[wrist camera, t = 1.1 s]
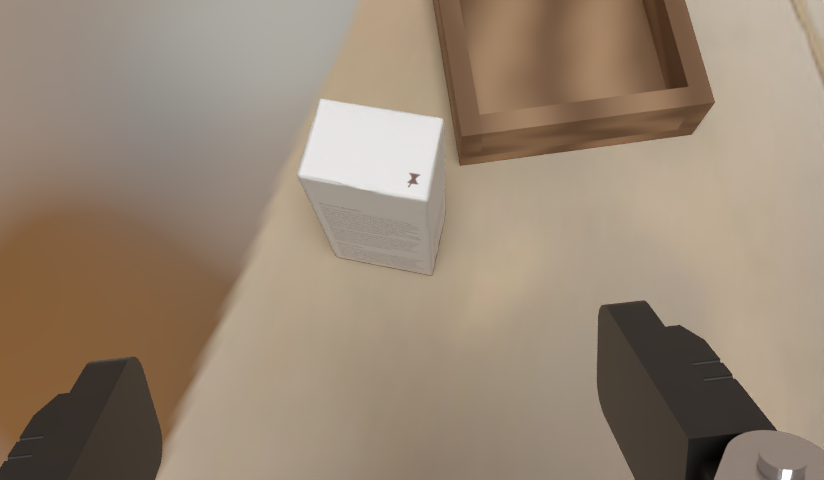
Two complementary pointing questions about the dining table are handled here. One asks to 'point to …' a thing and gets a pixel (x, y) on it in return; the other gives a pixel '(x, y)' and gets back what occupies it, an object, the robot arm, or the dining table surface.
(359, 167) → the skincare box
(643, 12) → the tray
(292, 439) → the dining table surface
